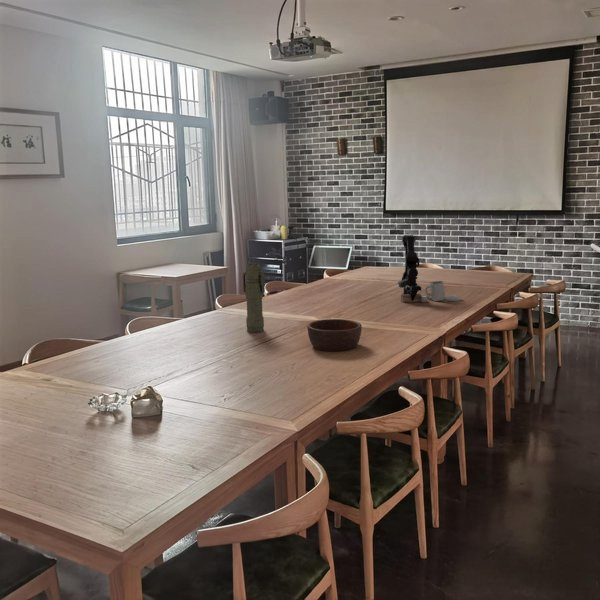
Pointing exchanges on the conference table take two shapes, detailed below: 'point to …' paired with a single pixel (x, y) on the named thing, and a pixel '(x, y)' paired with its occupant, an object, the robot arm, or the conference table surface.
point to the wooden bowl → (334, 334)
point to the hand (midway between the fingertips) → (411, 299)
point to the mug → (436, 290)
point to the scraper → (417, 298)
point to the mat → (451, 298)
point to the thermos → (254, 297)
